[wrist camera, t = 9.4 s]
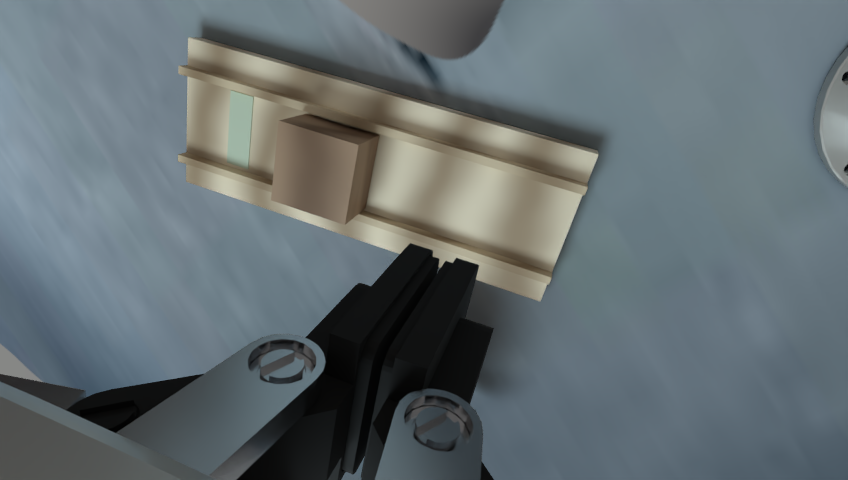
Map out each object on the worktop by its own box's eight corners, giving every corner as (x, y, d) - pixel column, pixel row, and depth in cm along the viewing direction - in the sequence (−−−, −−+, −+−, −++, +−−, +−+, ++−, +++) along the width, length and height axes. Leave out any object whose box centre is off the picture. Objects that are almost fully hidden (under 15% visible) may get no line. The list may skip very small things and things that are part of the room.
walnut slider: (379, 135, 35) (358, 144, 32) (365, 208, 38) (344, 225, 34) (306, 113, 36) (278, 120, 33) (297, 186, 39) (270, 200, 35)
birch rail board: (597, 150, 33) (599, 157, 31) (541, 292, 38) (539, 307, 36) (201, 37, 38) (178, 37, 36) (198, 177, 43) (177, 184, 41)
